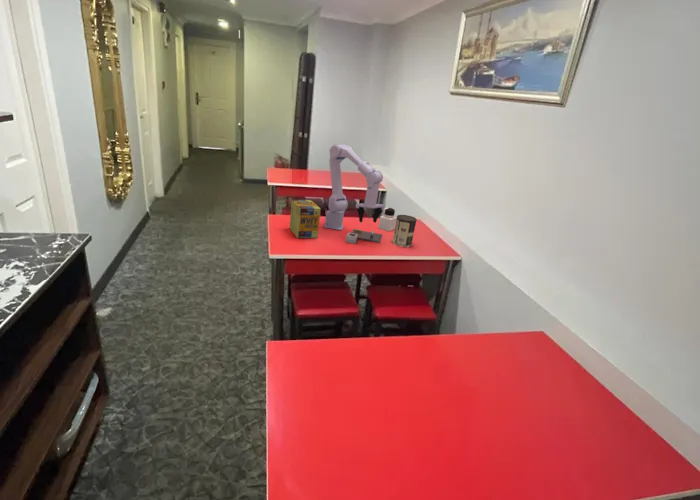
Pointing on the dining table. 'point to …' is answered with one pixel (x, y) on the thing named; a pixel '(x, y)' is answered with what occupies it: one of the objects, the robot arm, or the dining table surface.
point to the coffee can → (404, 230)
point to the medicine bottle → (387, 220)
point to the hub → (351, 238)
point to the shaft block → (368, 235)
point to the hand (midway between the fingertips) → (367, 221)
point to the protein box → (304, 218)
